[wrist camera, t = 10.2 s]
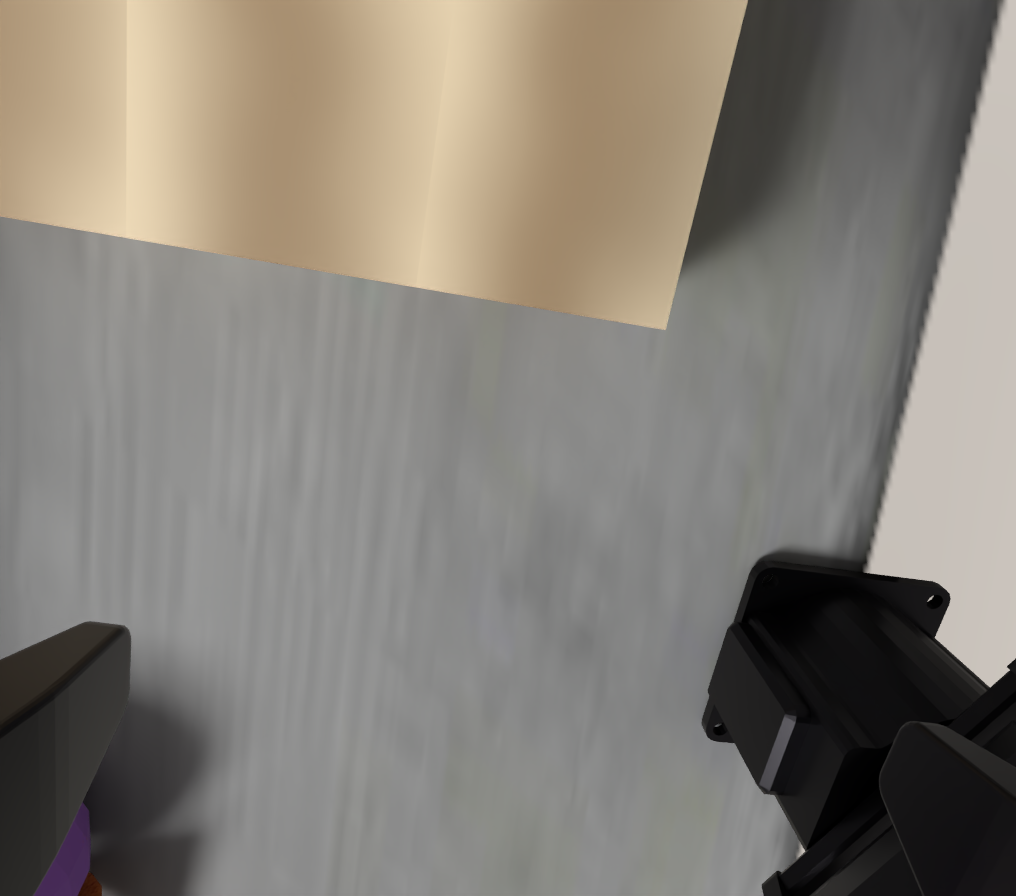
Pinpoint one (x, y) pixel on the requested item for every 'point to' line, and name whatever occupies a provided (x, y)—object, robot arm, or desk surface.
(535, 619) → the desk surface
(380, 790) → the desk surface
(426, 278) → the bore block
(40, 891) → the purple maraca
